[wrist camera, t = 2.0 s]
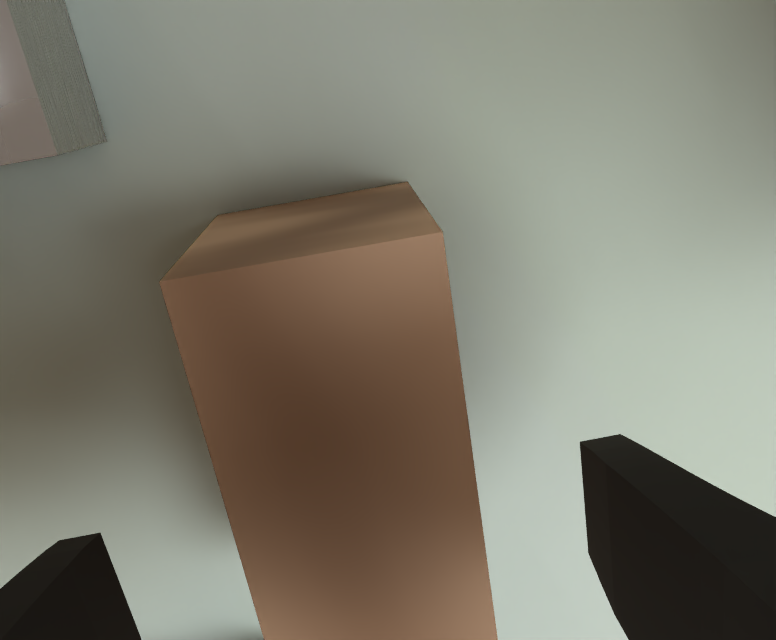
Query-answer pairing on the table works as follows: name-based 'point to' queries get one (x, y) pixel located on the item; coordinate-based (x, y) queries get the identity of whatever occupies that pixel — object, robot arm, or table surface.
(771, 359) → the table surface
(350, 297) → the block
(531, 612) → the table surface
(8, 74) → the grey rectangular tray piece
